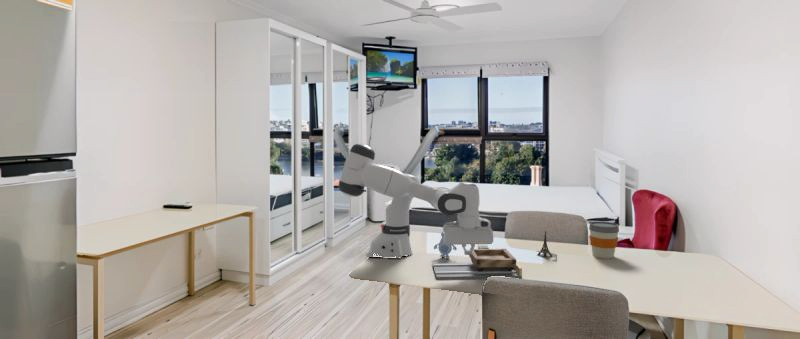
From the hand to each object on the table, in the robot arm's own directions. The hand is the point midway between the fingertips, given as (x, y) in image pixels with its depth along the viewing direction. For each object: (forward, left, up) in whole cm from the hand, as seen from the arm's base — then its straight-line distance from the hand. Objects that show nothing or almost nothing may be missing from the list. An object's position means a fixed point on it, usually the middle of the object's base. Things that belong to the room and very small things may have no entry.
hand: (468, 254), depth 177 cm
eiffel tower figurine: (+41, +22, -9) cm, 47 cm away
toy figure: (-7, +21, -8) cm, 24 cm away
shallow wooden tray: (+10, +2, -6) cm, 12 cm away
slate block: (+10, +17, -8) cm, 22 cm away
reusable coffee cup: (+67, +21, -8) cm, 71 cm away
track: (+3, +1, -8) cm, 8 cm away
